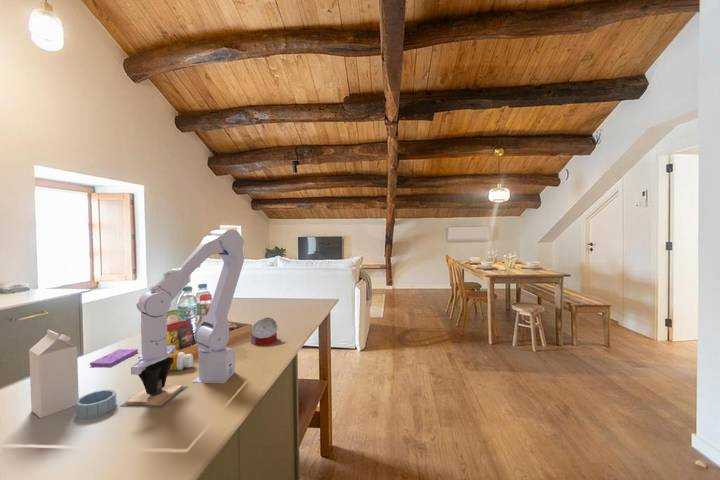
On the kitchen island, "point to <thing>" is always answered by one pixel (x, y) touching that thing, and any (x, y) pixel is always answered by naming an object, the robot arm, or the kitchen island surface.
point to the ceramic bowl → (95, 404)
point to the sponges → (113, 358)
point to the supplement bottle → (180, 360)
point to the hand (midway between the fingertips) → (155, 390)
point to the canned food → (264, 332)
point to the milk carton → (53, 374)
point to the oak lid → (155, 395)
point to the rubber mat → (156, 405)
